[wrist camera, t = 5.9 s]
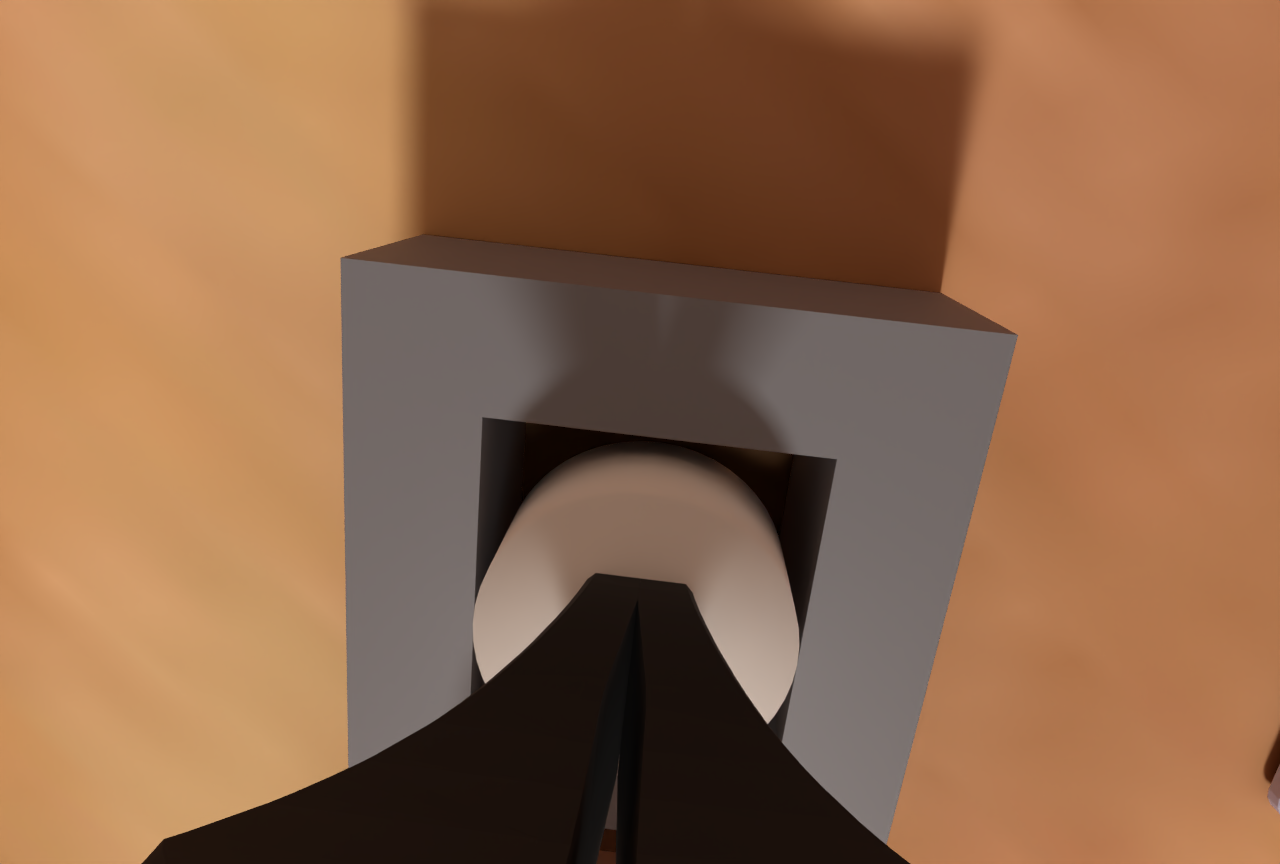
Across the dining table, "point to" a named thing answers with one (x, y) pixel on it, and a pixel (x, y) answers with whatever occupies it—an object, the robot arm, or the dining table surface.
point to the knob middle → (606, 857)
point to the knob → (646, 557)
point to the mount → (669, 409)
